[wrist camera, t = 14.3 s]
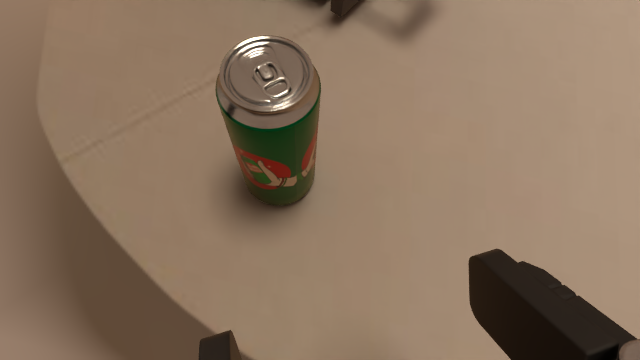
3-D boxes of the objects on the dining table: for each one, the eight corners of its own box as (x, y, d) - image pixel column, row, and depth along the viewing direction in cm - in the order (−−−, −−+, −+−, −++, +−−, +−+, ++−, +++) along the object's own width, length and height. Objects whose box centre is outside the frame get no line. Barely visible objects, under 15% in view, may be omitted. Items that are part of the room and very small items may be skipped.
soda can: (292, 134, 30) (287, 14, 19) (327, 186, 29) (342, 88, 18) (233, 164, 29) (191, 54, 18) (266, 220, 28) (242, 137, 17)
